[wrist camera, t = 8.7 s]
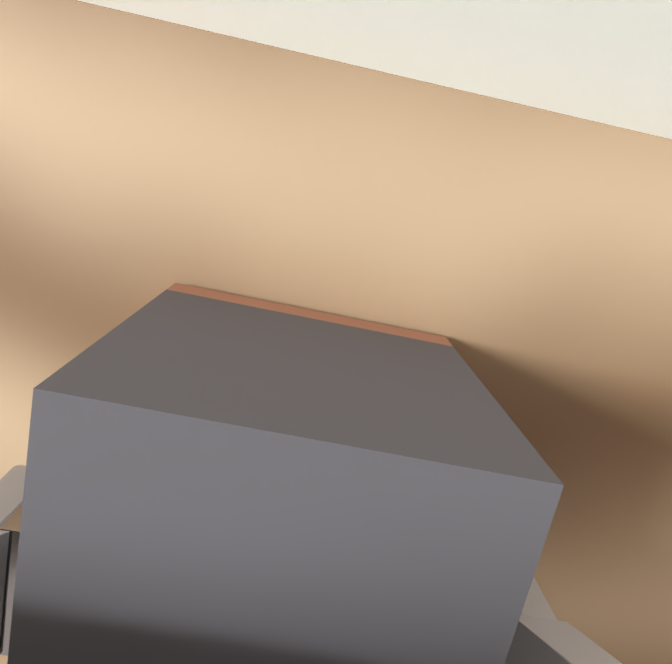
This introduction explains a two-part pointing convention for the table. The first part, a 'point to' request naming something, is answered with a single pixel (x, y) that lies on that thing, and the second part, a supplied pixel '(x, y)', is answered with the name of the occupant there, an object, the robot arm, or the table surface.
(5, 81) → the board
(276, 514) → the block
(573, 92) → the table surface
